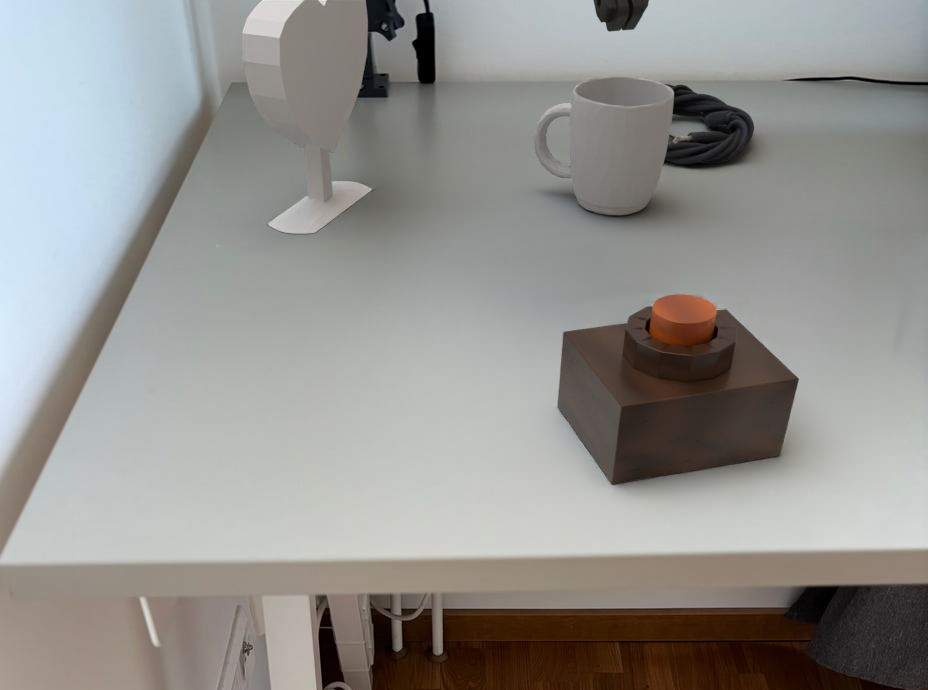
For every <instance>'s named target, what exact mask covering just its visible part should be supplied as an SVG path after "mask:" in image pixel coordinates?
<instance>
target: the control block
mask: <svg viewBox="0 0 928 690" xmlns="http://www.w3.org/2000/svg"><path fill="white" fill-rule="evenodd" d="M652 306H653V305H649V306H645V307H643V308H641V309H639V310H637V311H636V312H634V313H632V314H631V315H629V316H628V319H627V322H623V323H617V324H610V325H609V324H608V325H601V326H595V327H588V328H587V327H586V328H580V329H573V330H566V331H563V333H562V345H561V358H560V369H559V380H558V381H559V383H558V396H557V408H558V409H559V411H560V412H561V414H562V415H563V416H564V418H565V419H566V421H567V422H568V424H569V425H570V426H571V428H572V429H573V431H574V432H575V434H576V435H577V436H578V438H579V439H580V441H581V442H582V443H583V445H584V446H585V448H586V449H587V451H588V452H589V454H590V455H591V456H592V458H593V459H594V461H595V462H596V463H597V465H598V467H599V468H600V469H601V471H602V472H603V474H604V475H605V477H606V478H607V479H608V481H609V482H610V484H611V485H617V484H622V483H623V484H624V483H627V482H635V481H639V480H645V479H651V478H657V477H663V476H669V475H674V474H682V473H687V472H692V471H697V470H698V471H699V470H704V469H710V468H715V467H723V466H727V465H735V464H740V463H744V462H745V463H746V462H752V461H757V460H763V459H768V458H774V457H779V456H781V453H782V450H783V447H784V442H785V439H786V434H787V429H788V427H789V426H788V425H789V423H790V422H789V421H790V418H791V414H792V409H793V405H794V401H795V397H796V393H797V388H798V384H799V381H800V378H799V377H798V376H797V375H796V374H794V372H793V371H792V370H791V369H789V368H788V367H787V366H786V365H785V364H784V362H783V361H781V360H780V359H779V358H778V357H777V356H776V355H775V354H774V353H773V352H772V351H771V350H770V349H768V348H767V347H766V345H765V344H763V343H762V341H760V340H759V339H758V337H756V336H755V335H754V334H753V333H752V332H751V331H750V330H749V329H748V328H747V327H746V326H744V324H742V323H741V322H740V320H738V319H737V318H736V317H735V316H734V315H733V314H732V313H731V312H730V311H729V310H727V308H724V309H717V315H716V321H715V327H714V332H713V337H712V340H711V341H710V342H708V343H707V344H700V345H693V346H682V345H673V344H667V343H665V342H662V341H660V340H657V339H655V338H652V337H651V335H650V333H649V328H650V321H651V314H652Z"/></svg>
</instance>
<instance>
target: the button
mask: <svg viewBox="0 0 928 690" xmlns="http://www.w3.org/2000/svg"><path fill="white" fill-rule="evenodd" d="M651 306H652V314H651V321H650V328H649V333H650V335H651V337H652V338H655V339H657V340H660V341H662V342H665V343H667V344H673V345H682V346H693V345H700V344H707V343H708V342H710V341H711V340H712V337H713V332H714V327H715V321H716V315H717V310H718V309H717V307H716V305H715V304H714V303H713V302H711V301H709V300H708V299H706V298H703V297H701V296H698V295H692V294H685V293H682V294H681V293H675V294H674V293H673V294H668V295H664V296H661V297H659V298H657V299H656V300H655V301H654V302H653V304H652V305H651Z"/></svg>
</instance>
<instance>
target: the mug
mask: <svg viewBox="0 0 928 690" xmlns="http://www.w3.org/2000/svg"><path fill="white" fill-rule="evenodd" d="M665 84H666V83H663V82H661V81H658V80H654V79H650V78H646V77H639V76H631V75H630V76H629V75H606V76H599V77H593V78H590V79H585V80H583V81H581V82H579V83H578V84H576V86H574V89H573V91H572V98H571V102H562V103H559V104H555V105H553V106H552V107H550V108H549V109H547V110H546V111H545V112H543V114H542V115H541V116H540V118H539V119H538V121H537V123H536V126H535V130H534V134H533V146H534V151H535V155H536V157H537V159H538V162H539V163H540V164H541V166H542V167H543V168H544V169H545V170H546V171H548V172H549V173H550V174H551V175H553V176H555V177H558V178H562V179H571V182H572V189H573V193H574V196H575V197H576V200H577V203H578V204H579V206H581V207H582V208H584V210H587V211H590V212H593V213H595V214H599V215H600V214H601V215H606V216H627V215H628V216H629V215H631V214H635V213H638V212H640V211H641V210H643V209H644V208H645V207H646V206H648V204H649V202H650V199H651V198H652V197H653V196H654V193H655V190H656V188H657V185H658V183H659V180H660V178H661V174H662V170H663V166H664V162H665V160H666V159H665V156H666V151H667V145H668V140H669V134H670V133H671V128H672V121H673V102H674V91H673V90H672V88H671V87H669V86H667V85H665ZM560 117H569V138H568V139H569V142H568V146H569V162H570V164H569V165H567V164H564V163H562V162H560V161H559V160H557V159H556V158H555V156H554V155H553V154H552V153H551V152H550V149H549V147H548V143H547V132H548V129H549V126H550V125H551V123H552V122H553V121H554V120H555V119H558V118H560ZM670 135H671V134H670Z"/></svg>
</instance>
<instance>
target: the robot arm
mask: <svg viewBox="0 0 928 690" xmlns="http://www.w3.org/2000/svg"><path fill="white" fill-rule="evenodd" d="M649 3H650V0H593V5H594V10H595V14H596V17H597V19H598V21H599V22H600V24H601V23H605V27H606V30H607V32H620V31H621V30H622V31H632V30H633V31H634V30H635V29H636V27H637V26H638V24H639V23H640V21H641V19H642V17H643V15H644V13H645V12H646V10H647V8H648V6H649Z"/></svg>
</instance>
